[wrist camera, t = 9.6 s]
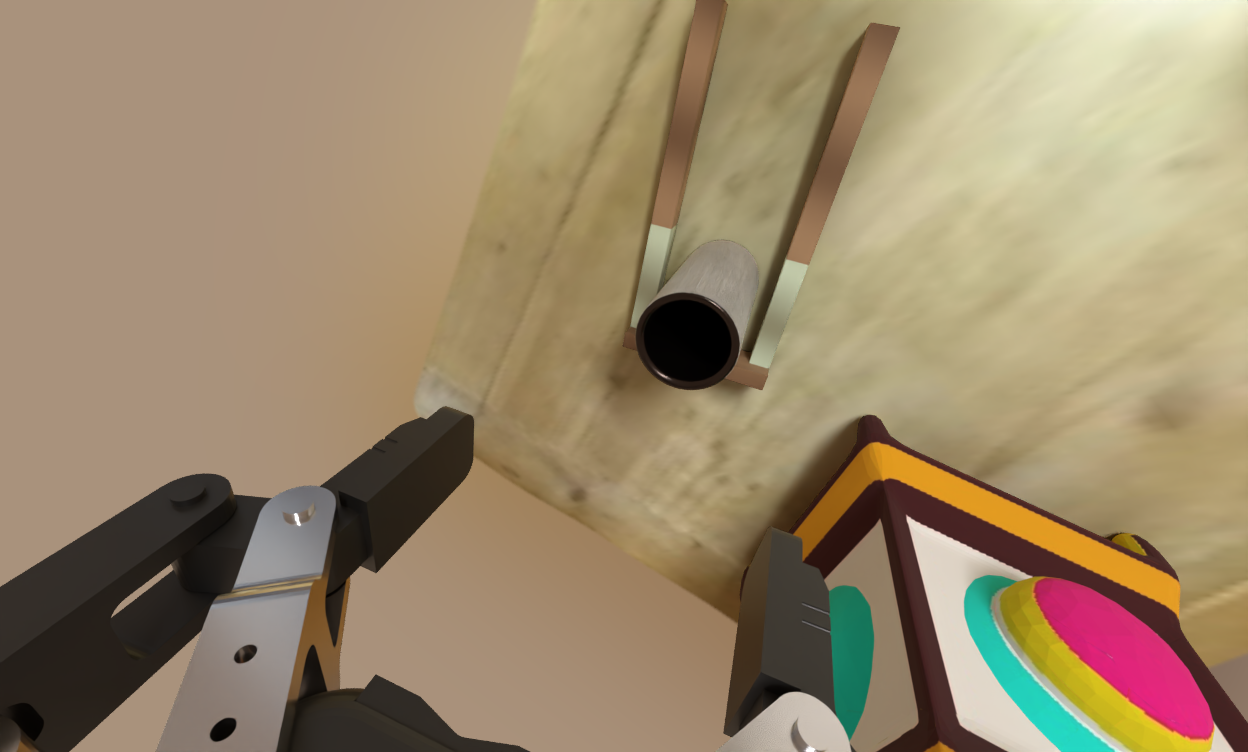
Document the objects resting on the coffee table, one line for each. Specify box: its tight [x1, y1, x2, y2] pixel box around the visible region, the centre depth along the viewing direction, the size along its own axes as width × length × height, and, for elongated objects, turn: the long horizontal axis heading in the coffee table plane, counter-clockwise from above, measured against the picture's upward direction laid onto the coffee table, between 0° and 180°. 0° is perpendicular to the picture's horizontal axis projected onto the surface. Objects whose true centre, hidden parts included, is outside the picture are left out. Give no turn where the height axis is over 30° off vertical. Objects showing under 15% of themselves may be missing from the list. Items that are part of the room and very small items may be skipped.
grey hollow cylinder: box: [635, 240, 759, 390], centre depth 25 cm, size 4×4×10 cm
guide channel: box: [623, 0, 900, 390], centre depth 26 cm, size 18×9×2 cm, turn 169°
